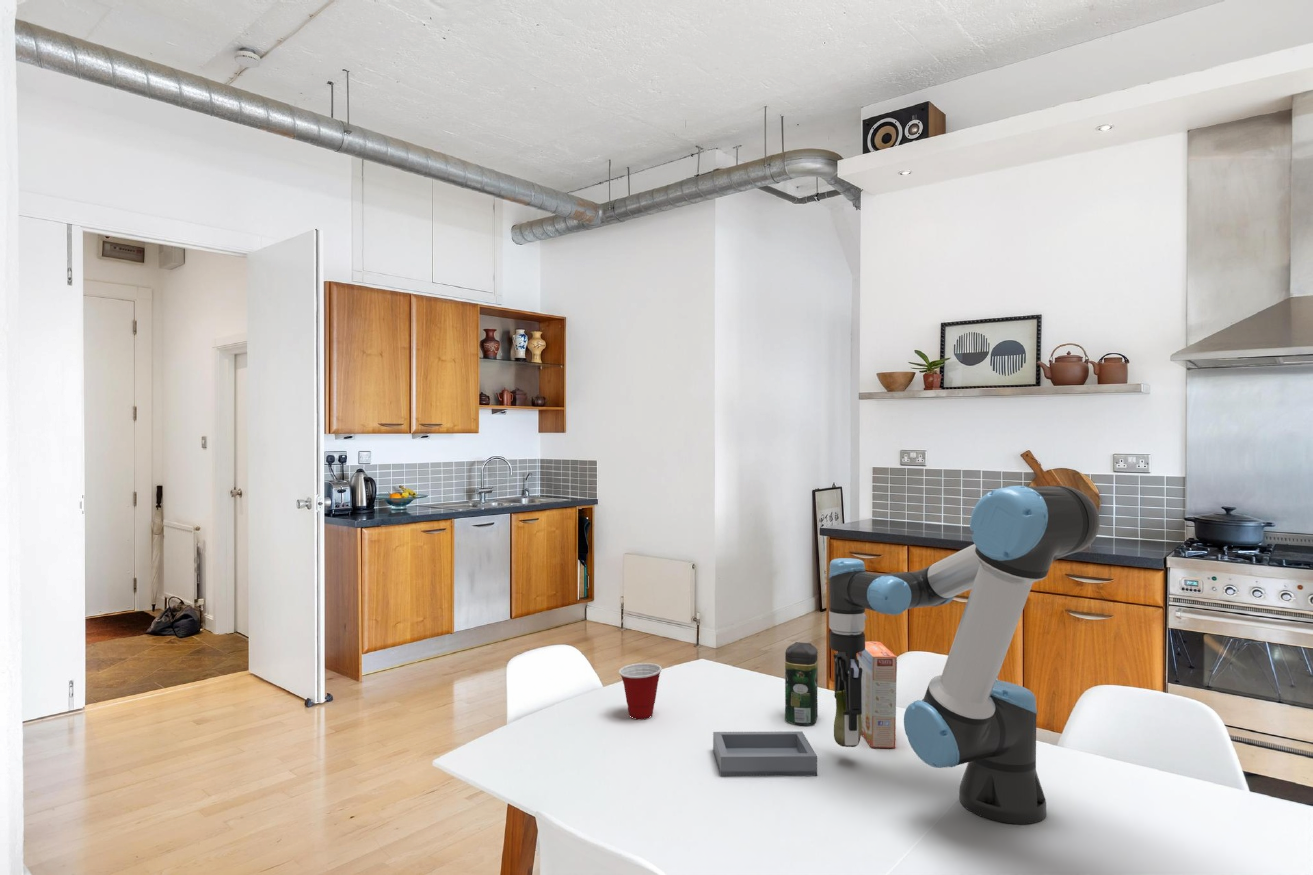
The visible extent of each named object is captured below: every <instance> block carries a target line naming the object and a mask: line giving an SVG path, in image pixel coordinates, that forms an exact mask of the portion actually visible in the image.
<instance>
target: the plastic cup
mask: <svg viewBox="0 0 1313 875" xmlns="http://www.w3.org/2000/svg"><path fill="white" fill-rule="evenodd" d="M662 670H663V668H662V666H661V665H659V664H656V663H653V662H652V663H650V662H640V663H632V664H627V665H624V666H622V667H621V668H619V670H618V674H619V676H620V677H621V679H622V682H623V683H622V684H623V686H624V687H623V688H624V693H625V698H626V704H627V710H628V714H629V715H630V716H631V717H633V718H636V719H635V720H638V719H644V718H649V717H650V716H653V714H654V710H655V709H654V707H655V703H656V698H657V692H658V684H659V679H660V674H661V672H662ZM630 716H629V717H630ZM631 717H630V718H631ZM633 718H632V719H633ZM649 719H650V718H649ZM644 720H645V719H644Z"/></svg>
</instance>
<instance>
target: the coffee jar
mask: <svg viewBox="0 0 1313 875" xmlns="http://www.w3.org/2000/svg"><path fill="white" fill-rule="evenodd" d="M784 653H785V654H784V655H785V660H784V661H785V662H784V664H785V665H784V668H785V669H784V670H785V671H784V672H785V673H784V676H785V677H784V680H785V681H784V685H785V686H784V690H785V691H784V692H785V693H784V695H785V696H784V701H785V702H784V703H785V704H784V716H785V717H784V718H785V720H786V721H787V723H792V724H794V725H797V726H798V725H799V726H805V725H806V726H807V725H814V724H815V723H816V721H817V720H818V713H819V710H818V709H819V708H818V707H819V706H818V681H819V680H818V676H819V675H818V668H819V667H818V665H819V664H818V658H819V656H818V653H819V652H818V649H817V648H816V646H815V645H813V644H812V643H810V642H800V641H799V642H798V641H797V642H796V641H795V642H794V643H792V644H791V645H789V646H787V648H786V650H785V652H784Z"/></svg>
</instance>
